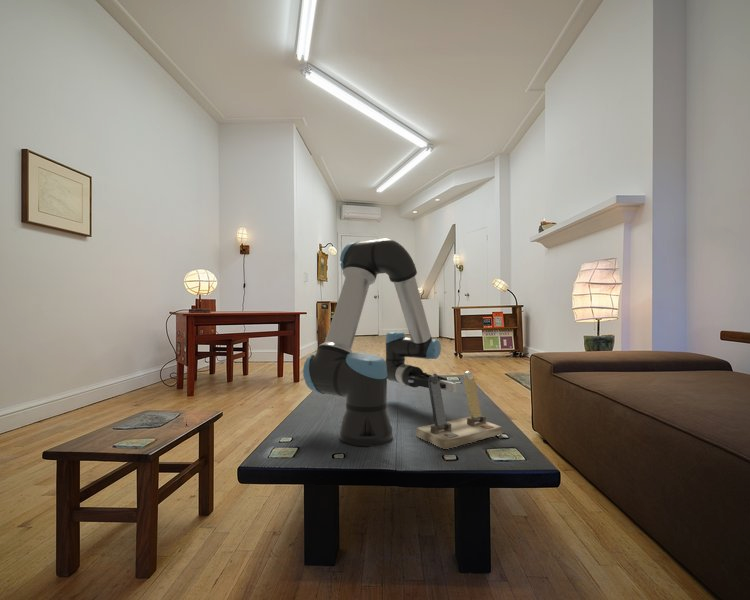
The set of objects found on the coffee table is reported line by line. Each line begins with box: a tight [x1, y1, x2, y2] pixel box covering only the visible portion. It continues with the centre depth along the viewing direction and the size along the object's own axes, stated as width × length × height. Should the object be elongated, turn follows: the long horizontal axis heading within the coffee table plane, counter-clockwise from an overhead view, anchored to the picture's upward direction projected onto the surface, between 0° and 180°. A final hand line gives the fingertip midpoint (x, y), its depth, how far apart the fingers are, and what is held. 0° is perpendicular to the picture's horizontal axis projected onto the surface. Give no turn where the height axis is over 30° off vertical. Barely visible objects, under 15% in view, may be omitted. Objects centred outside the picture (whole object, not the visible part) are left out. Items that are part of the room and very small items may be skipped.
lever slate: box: [428, 374, 447, 430], centre depth 105 cm, size 3×3×15 cm
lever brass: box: [463, 370, 482, 422], centre depth 112 cm, size 3×3×15 cm
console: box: [415, 414, 503, 449], centre depth 107 cm, size 12×22×4 cm, turn 122°
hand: (454, 387), depth 119 cm, fingers closed
